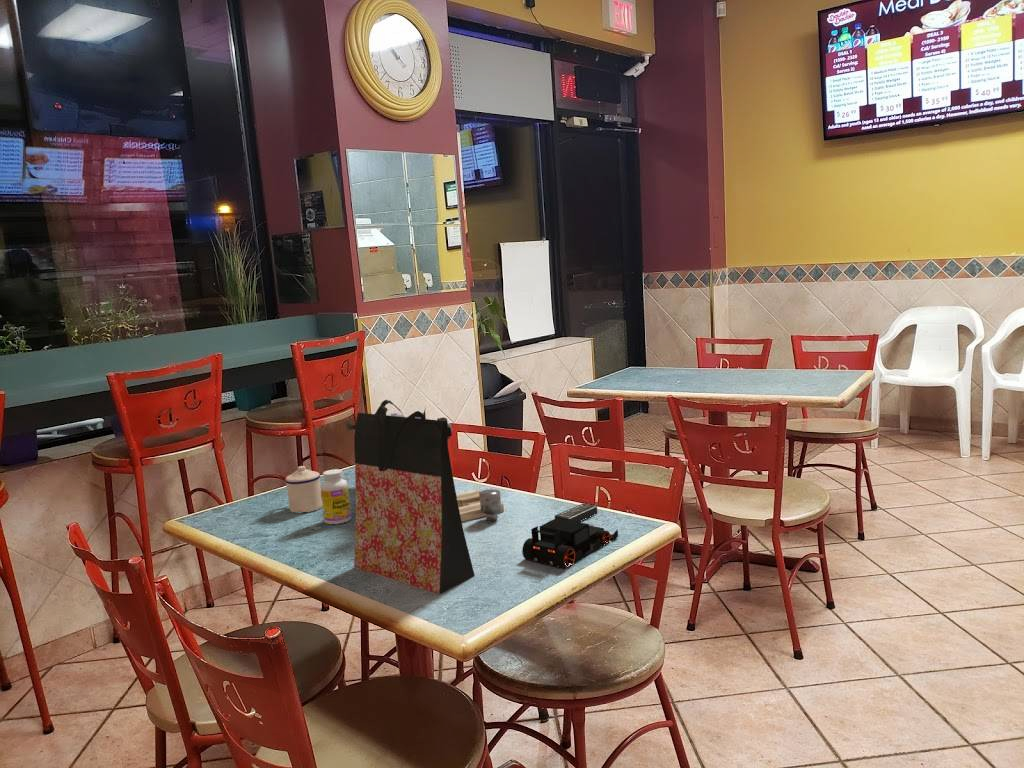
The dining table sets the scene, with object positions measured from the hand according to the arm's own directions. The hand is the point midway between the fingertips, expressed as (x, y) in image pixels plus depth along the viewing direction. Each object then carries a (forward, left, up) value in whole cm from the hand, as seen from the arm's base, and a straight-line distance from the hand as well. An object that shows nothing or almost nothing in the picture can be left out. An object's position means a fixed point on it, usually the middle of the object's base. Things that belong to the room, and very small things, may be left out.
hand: (435, 434), depth 181 cm
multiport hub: (+19, +26, -22) cm, 39 cm away
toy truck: (+35, +15, -22) cm, 44 cm away
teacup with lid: (-37, -26, -22) cm, 50 cm away
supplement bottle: (-19, -21, -22) cm, 36 cm away
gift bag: (+23, -17, -22) cm, 36 cm away
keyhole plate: (-5, +7, -22) cm, 24 cm away
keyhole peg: (+6, +10, -22) cm, 25 cm away
